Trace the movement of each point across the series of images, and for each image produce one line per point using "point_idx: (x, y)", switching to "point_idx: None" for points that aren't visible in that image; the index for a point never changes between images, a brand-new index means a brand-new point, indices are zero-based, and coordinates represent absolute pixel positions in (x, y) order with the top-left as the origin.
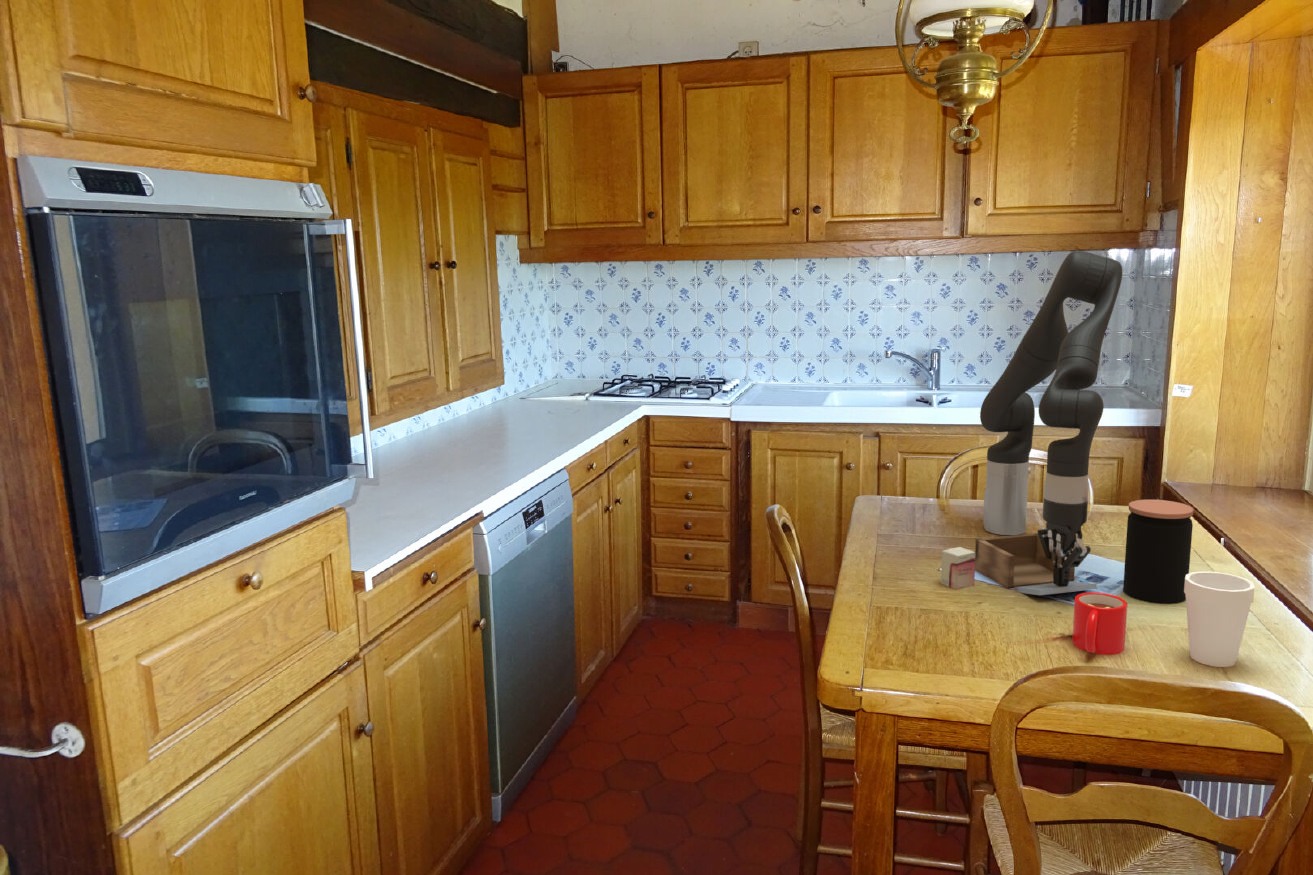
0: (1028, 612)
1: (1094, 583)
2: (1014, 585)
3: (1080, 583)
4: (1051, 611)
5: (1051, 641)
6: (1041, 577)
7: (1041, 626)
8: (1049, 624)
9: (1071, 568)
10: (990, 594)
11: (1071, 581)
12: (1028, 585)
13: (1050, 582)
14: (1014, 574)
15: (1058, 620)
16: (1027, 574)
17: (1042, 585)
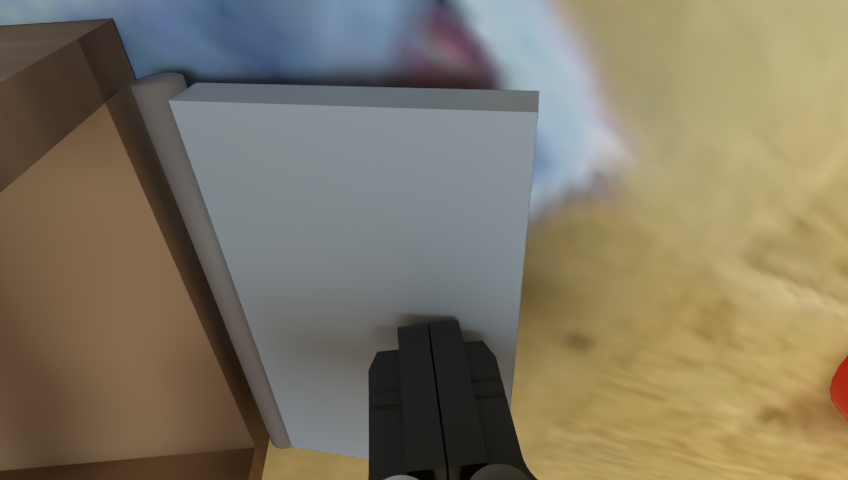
0: (523, 432)
1: (510, 114)
2: (253, 443)
3: (396, 180)
4: (551, 361)
5: (790, 457)
6: (66, 276)
7: (669, 441)
8: (670, 416)
9: (29, 128)
10: (275, 475)
11: (181, 119)
12: (232, 378)
13: (177, 257)
14: (22, 390)
15: (656, 377)
16: (5, 330)
17: (307, 364)
